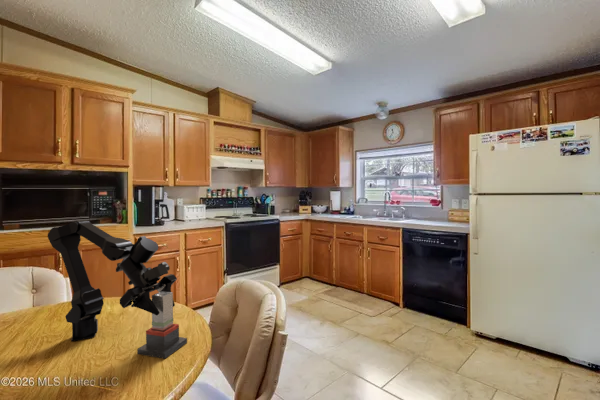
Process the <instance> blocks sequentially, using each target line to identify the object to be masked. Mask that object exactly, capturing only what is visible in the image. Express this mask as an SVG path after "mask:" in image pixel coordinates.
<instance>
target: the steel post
mask: <svg viewBox="0 0 600 400" xmlns="http://www.w3.org/2000/svg"><path fill="white" fill-rule="evenodd" d="M173 293H174V292H172V291H171V292H163V291H161V292H157V293H154V294H152V295H151V300H152V302H153V303H154V304H155V306H156V307H157V309H158V311H159V314H158V315H155V314H152V313H151V320H152V321H151V328H152V330H154V331H161V332H164V331H166V330H168V329H169V328H171V327H173V324H174V307H173V300H174V294H173Z"/></svg>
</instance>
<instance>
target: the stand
mask: <svg viewBox="0 0 600 400" xmlns="http://www.w3.org/2000/svg"><path fill="white" fill-rule="evenodd" d="M187 343H188V338H187V337H182V336H180V324H179V323H173V327H171V328H169V329H168V330H166V331H164V332H161V331H154V330H152V327H150V328H148V329H147V330H145V344H143V345H141V346H140V347H139V348H137V350H136V351H137V352H136V353H137V355H141V356H147V357H153V358H159V359H167V358H168V357H170V356H171V355H172V354H174V353H175V352H176V351H178V350H179V349H180V348H182V347H183V346H184V345H186V344H187Z"/></svg>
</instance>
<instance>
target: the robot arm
mask: <svg viewBox="0 0 600 400" xmlns="http://www.w3.org/2000/svg"><path fill="white" fill-rule="evenodd" d="M81 237H82V238H85V240H87V241H89V242H90V243H93V244H94V245H95V246H96V247H99V248H100V249H101V253H102V254H103V256H104V257H106V259H108V260H109V261H112V262H113V261H114V262H115V261H119V260H122V261H120V262H117V263H116V267H115V273H119V272H123V273H124V274H125V277H127V278H128V280H129V281H128V282H127V284H128V285H129V286H131V285H133V286H134V287H132V288H129V289H127V290H126V291H125V292H124V294H122V296H121V297H120V298H119V304H120V306H121V308H122V309H125V308H127V307H128V308H129V307H131V308H134V307H135V308H137V309H141V310H143V311H145V312H148V313H150V314H151V315H152V314H155V315H158V314H159V311H158V309H157V307H156V306H155V304H154V303H153V302H152V298H151V296H150V293H152V292H155V291H157V293H159V292H161V291H163V292H172V285H173V284H174V283H175V282H176V281H177V280H178V278H177V277H176V276H175V274H174V273H169V271H170V265H169V263H167V262H166V261H163V262H160V263H158V264H157V266H154V267H146V266H145V264H146V263H148V262H149V260H151V258H152V257H153V256H154V255H155V254H156V253H157V251H158V250H159V245H158V243H157V241H154V240H152V239H150V238H148V237H146V236H145V235H142V236H139V237H138V239H137V240H136V241H135V243H133V242H131V241H130V240H128V239H125V238H122V237H116V236H113V235H111V234H109V233H108V232H106V231H104V230H102V229H101V228H100V227H98V226H96V225H94V224H93V223H91V221H89V220H88V219H83V220H74V221H72V222H70V223H67V224H65V225H60V226H55V227H51V228H50V230H49V231H48V233H47V239H48V241H49V244H50V245H51V247H52V249H54V250H56V251H57V252H58V253H60V255H61V257H62V260H63V261H62V262H63V264H64V267H65V270H66V273H67V276H68V279H69V282H70V285H71V288H72V291H73V294H72V298H71V301H70V305H71V308H70V310H69V311H68V312H67V313H66V314H65V319H66V323H71V328H72V329H71V332H72V337H71V339H70V341H71V342H76V341H82V340H87V339H91V338H95V337H96V335H97V334H98V330H99V323H98V322H99V319H98V318H97V316H98V315H101V314H102V309H103V307H104V297H103V295H102V290H101V289H100V288H94V286H92V284H91V282H90V279H89V275H88V273H87V270H86V267H85V265H84V261H83V257H82V255H81V252H80V250H79V246H80V242H81ZM167 274H168V275H167ZM164 275H165V276H164ZM161 277H162V278H161ZM175 305H176V304H175V301H174V299H173V308H174V307H175Z"/></svg>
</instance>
